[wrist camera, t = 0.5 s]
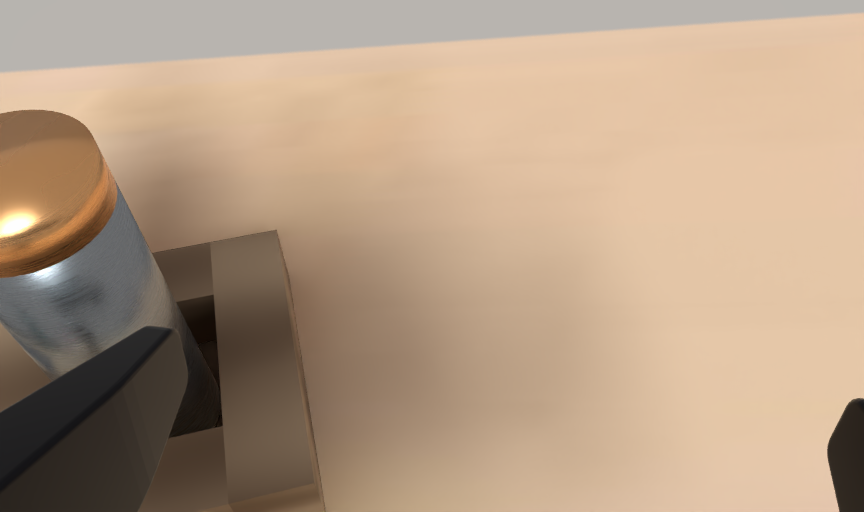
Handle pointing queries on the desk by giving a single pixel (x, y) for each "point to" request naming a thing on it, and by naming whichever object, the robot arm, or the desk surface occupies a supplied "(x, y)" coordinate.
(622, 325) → the desk surface
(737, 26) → the desk surface
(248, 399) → the brown square frame
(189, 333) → the amber topped metal pillar
